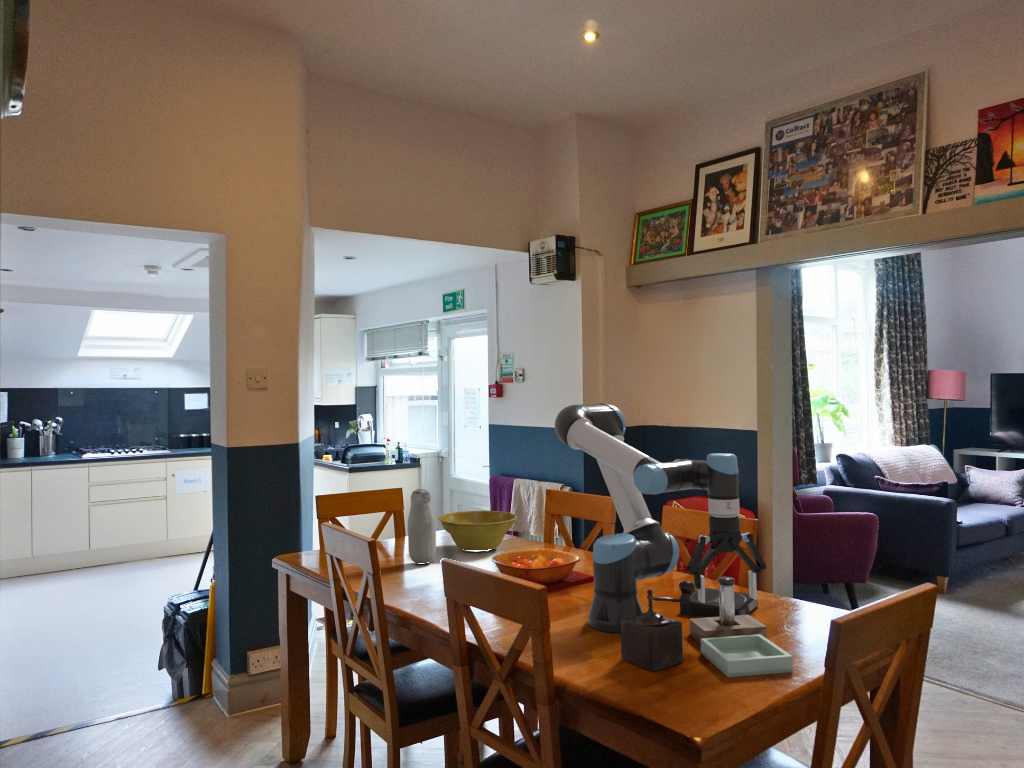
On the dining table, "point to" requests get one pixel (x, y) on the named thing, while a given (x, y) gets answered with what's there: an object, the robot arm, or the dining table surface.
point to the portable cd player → (717, 604)
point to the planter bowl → (477, 528)
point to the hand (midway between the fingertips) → (727, 599)
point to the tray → (746, 655)
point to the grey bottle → (421, 528)
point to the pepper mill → (654, 635)
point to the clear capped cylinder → (726, 601)
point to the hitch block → (725, 627)
